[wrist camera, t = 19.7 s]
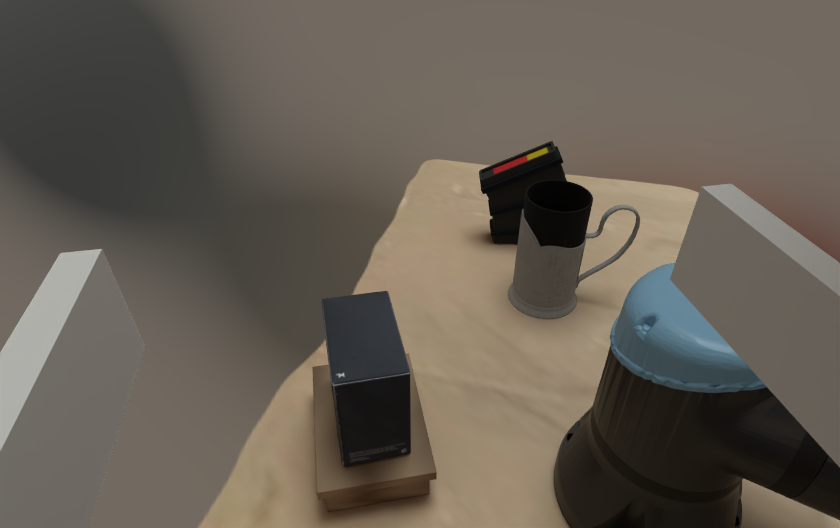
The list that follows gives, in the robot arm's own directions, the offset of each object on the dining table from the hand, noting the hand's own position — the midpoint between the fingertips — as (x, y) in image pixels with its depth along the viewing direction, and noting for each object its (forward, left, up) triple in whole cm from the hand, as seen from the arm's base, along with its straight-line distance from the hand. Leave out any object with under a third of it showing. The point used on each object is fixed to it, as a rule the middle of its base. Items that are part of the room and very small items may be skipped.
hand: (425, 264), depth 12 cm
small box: (+1, -23, -34) cm, 41 cm away
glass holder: (-26, -40, -38) cm, 61 cm away
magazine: (-25, -54, -38) cm, 70 cm away
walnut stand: (+1, -23, -38) cm, 44 cm away
